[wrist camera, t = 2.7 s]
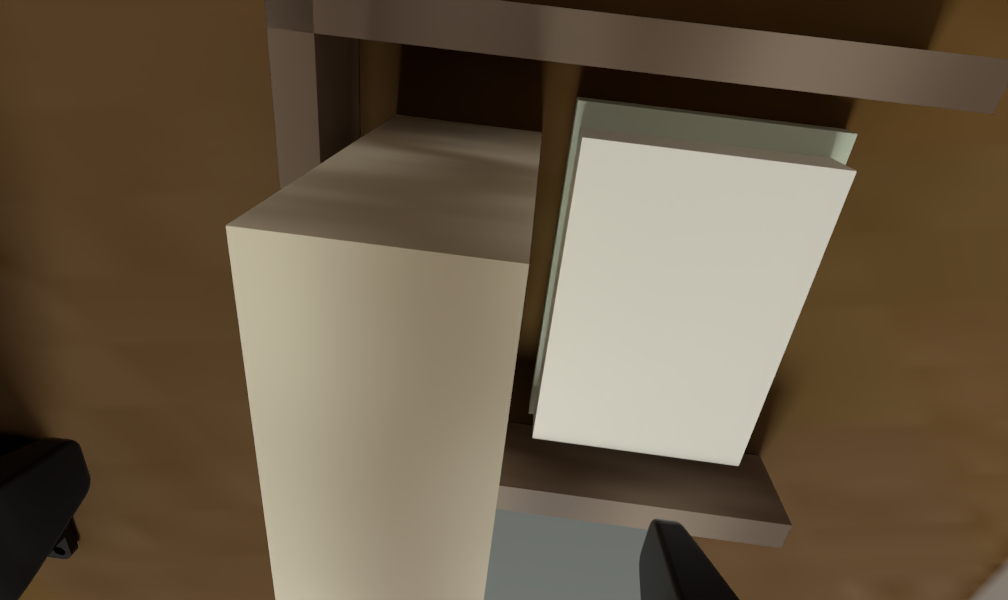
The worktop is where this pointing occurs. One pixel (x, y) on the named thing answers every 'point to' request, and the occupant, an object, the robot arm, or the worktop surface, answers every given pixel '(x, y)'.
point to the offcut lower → (689, 128)
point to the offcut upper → (679, 290)
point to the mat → (562, 559)
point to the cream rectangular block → (386, 356)
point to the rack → (616, 45)
